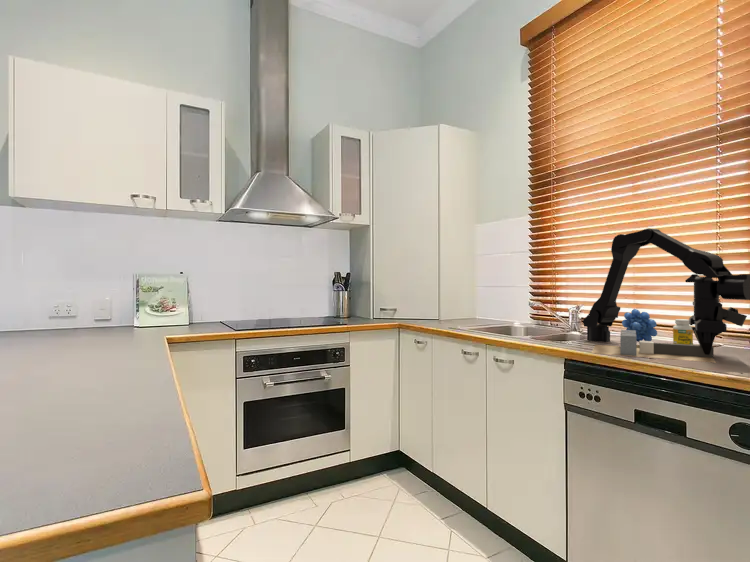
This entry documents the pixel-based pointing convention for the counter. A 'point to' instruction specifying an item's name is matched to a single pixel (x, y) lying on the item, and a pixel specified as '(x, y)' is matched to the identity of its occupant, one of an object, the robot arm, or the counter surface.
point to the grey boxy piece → (628, 342)
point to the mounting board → (616, 351)
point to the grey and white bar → (673, 349)
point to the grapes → (640, 325)
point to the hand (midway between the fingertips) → (706, 353)
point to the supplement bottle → (682, 332)
